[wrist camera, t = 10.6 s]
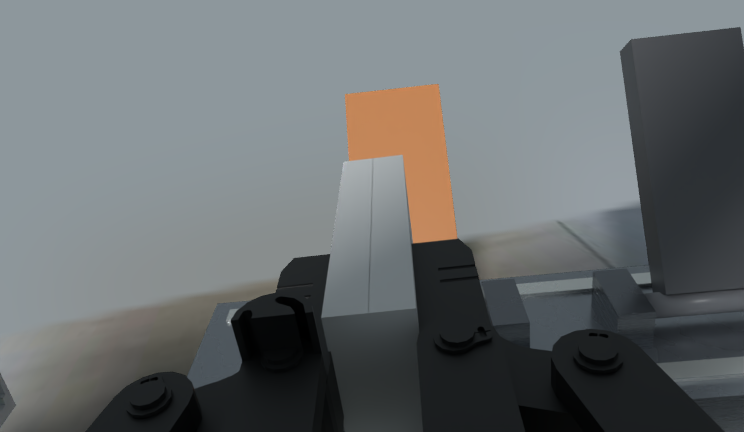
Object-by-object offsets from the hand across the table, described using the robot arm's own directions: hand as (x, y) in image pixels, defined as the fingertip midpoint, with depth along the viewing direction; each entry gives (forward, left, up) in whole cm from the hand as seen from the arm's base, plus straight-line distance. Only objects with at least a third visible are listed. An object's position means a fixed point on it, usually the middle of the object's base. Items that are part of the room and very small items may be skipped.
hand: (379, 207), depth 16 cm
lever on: (-14, -10, -11) cm, 20 cm away
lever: (0, -10, -11) cm, 15 cm away
